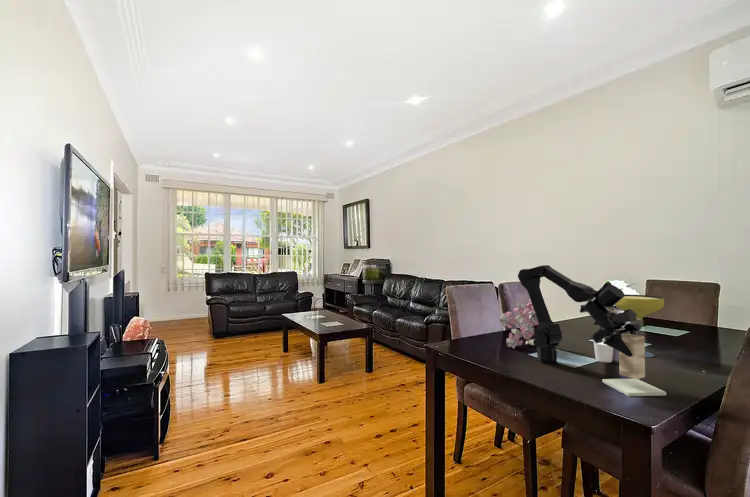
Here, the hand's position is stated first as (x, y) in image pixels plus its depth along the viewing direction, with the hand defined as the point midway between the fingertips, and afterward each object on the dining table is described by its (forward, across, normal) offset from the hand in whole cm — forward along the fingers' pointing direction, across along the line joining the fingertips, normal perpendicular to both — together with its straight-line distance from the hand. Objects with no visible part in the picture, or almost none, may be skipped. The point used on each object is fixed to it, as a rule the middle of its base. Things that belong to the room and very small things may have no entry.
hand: (636, 355), depth 114 cm
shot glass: (-9, +22, +25) cm, 35 cm away
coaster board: (+7, 0, +9) cm, 11 cm away
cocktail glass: (-8, +44, +25) cm, 52 cm away
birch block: (+4, 0, +6) cm, 7 cm away
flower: (-31, +9, +47) cm, 57 cm away
